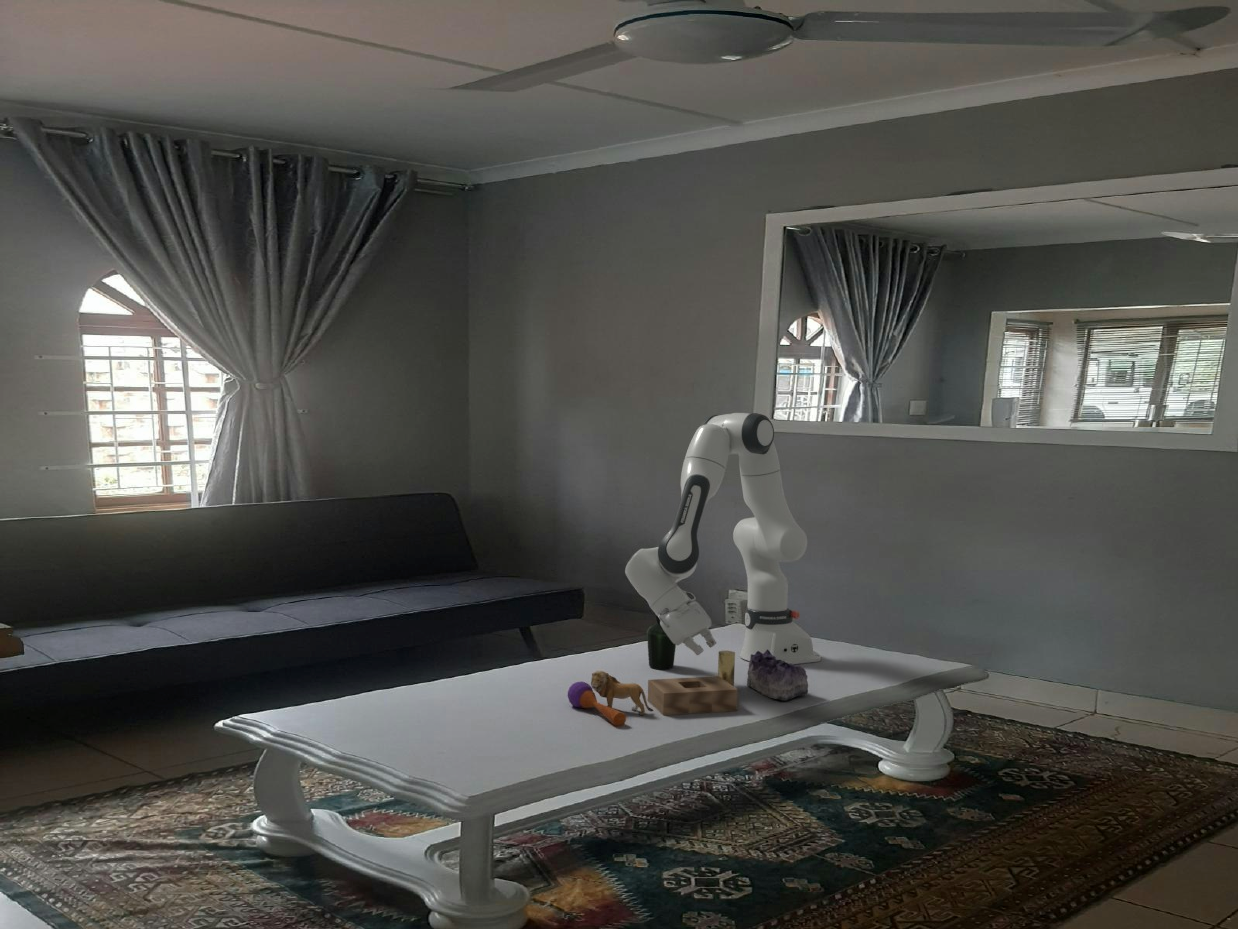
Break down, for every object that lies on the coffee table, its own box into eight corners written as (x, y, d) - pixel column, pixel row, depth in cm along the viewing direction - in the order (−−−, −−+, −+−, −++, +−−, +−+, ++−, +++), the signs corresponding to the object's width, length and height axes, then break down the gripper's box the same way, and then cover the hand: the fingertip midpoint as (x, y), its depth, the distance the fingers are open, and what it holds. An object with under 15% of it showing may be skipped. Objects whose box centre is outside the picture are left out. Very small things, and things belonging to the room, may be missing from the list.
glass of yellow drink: (730, 690, 267) (731, 650, 266) (736, 694, 263) (737, 654, 262) (715, 690, 265) (716, 651, 265) (720, 695, 262) (722, 654, 261)
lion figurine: (588, 712, 245) (589, 673, 245) (592, 705, 250) (593, 667, 250) (651, 716, 243) (652, 677, 242) (654, 710, 248) (655, 671, 247)
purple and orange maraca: (606, 711, 233) (561, 682, 250) (609, 736, 234) (564, 706, 251) (629, 703, 236) (583, 675, 253) (632, 728, 237) (586, 698, 254)
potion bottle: (682, 667, 287) (684, 601, 286) (660, 672, 282) (661, 604, 281) (662, 661, 294) (663, 596, 292) (639, 666, 288) (641, 599, 287)
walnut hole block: (718, 696, 260) (719, 676, 260) (737, 710, 249) (737, 689, 249) (647, 700, 256) (648, 679, 255) (663, 715, 244) (663, 693, 244)
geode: (728, 684, 273) (733, 645, 273) (766, 686, 278) (770, 647, 278) (774, 702, 254) (779, 660, 255) (813, 703, 260) (818, 662, 260)
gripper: (664, 605, 258) (701, 650, 255) (694, 592, 277) (729, 633, 274) (647, 621, 261) (683, 666, 257) (678, 607, 279) (712, 649, 276)
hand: (707, 649), depth 265 cm, fingers open, 8 cm apart
